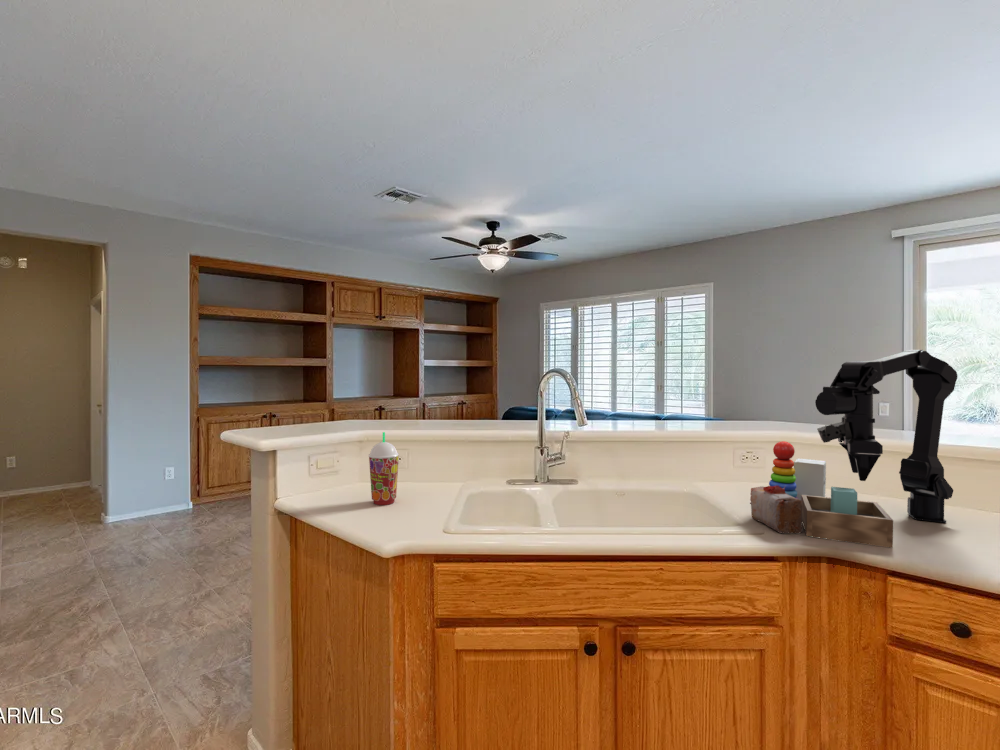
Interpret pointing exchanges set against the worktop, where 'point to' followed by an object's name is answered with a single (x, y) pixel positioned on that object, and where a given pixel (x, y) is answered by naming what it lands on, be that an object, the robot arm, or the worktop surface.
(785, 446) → the stacking toy
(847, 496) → the peg
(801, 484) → the supplement box
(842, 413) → the robot arm
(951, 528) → the worktop surface
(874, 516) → the bore box
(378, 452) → the smoothie
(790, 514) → the weathered brown brick
